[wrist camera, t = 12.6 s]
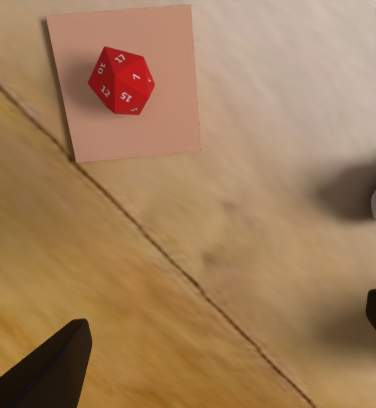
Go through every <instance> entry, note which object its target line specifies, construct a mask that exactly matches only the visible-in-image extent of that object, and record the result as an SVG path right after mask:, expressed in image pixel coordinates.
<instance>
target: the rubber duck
mask: <svg viewBox="0 0 376 408" xmlns="http://www.w3.org/2000/svg"><path fill="white" fill-rule="evenodd" d="M371 209H372V213H373V217H374V219H375V221H376V190H375V191H374V193H373V195H372V197H371Z"/></svg>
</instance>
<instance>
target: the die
mask: <svg viewBox="0 0 376 408" xmlns="http://www.w3.org/2000/svg"><path fill="white" fill-rule="evenodd" d="M88 85H89V86H90V87H91V89H92V90H93V91H94V92H95V94H96V95H97V96H98V97H99V99H100V100H101V101H102V102H103V104H104V105H105V106H106V107H107V108H108V109H109V110H111V111H112V112H113V113H114V114H126V115H140V113H141V112H142V110H143V108H144V106H145V104H146V103H147V101H148V99H149V97H150V95H151V93H152V91H153V89H154V86H155V83H154V80H153V78H152V75H151V73H150V71H149V68H148V66H147V63H146V61H145V59H144V57H143V56H140V55H136V54H133V53H129V52H125V51H122V50H118V49H114V48H110V47H107V46H105V47H104V48H103V50H102V52H101V54H100V56H99V59H98V61H97V63H96V65H95V67H94V70H93V72H92V74H91V76H90V78H89V80H88Z"/></svg>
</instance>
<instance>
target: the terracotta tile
mask: <svg viewBox="0 0 376 408" xmlns="http://www.w3.org/2000/svg"><path fill="white" fill-rule="evenodd" d="M46 19H47V24H48V29H49V33H50V38H51V43H52V48H53V53H54V58H55V62H56V67H57V72H58V77H59V82H60V86H61V91H62V96H63V101H64V106H65V111H66V115H67V120H68V125H69V130H70V135H71V139H72V144H73V149H74V154H75V159H76V163H77V162H88V161H99V160H110V159H121V158H132V157H143V156H154V155H165V154H176V153H187V152H198V151H201V143H200V129H199V115H198V101H197V86H196V72H195V58H194V44H193V29H192V15H191V5H179V6H167V7H154V8H142V9H129V10H117V11H104V12H92V13H79V14H66V15H54V16H46ZM105 46H107V47H110V48H114V49H118V50H122V51H125V52H129V53H133V54H136V55H140V56H143V57H144V59H145V61H146V63H147V66H148V68H149V71H150V73H151V75H152V78H153V80H154V83H155V86H154V89H153V91H152V93H151V95H150V97H149V99H148V101H147V103H146V104H145V106H144V108H143V110H142V112H141V113H140V115H126V114H114V113H113V112H112V111H111V110H109V109H108V108H107V107H106V106H105V105H104V104H103V102H102V101H101V100H100V99H99V97H98V96H97V95H96V94H95V92H94V91H93V90H92V89H91V87H90V86H89V85H88V80H89V78H90V76H91V74H92V72H93V70H94V67H95V65H96V63H97V61H98V59H99V56H100V54H101V52H102V50H103V48H104V47H105Z"/></svg>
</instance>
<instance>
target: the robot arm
mask: <svg viewBox="0 0 376 408" xmlns="http://www.w3.org/2000/svg"><path fill="white" fill-rule="evenodd" d="M366 315H367V318H368V320H369V321H370V323H371V324H372V326H373V327H374V328H375V330H376V289H372V290H370V291H369V292H368V296H367V304H366ZM91 349H92V337H91V333H90V329H89V324H88V321H87V320H86V319H75V320H72V321H70V322H69V323H68V324H67V325H65V326H64V327H63V328H61V329H60V330H59V331H58V332H56V333H55V334H54V335H53V336H51V337H50V338H49V339H48V340H46V341H45V342H44V343H43V344H41V345H40V346H39V347H38V348H36V349H35V350H34V351H33V352H31V353H30V354H29V355H27V356H26V357H25V358H24V359H22V360H21V361H20V362H19V363H17V364H16V365H15V366H14V367H12V368H11V369H10V370H9V371H7V372H6V373H5V374H4V375H2V376H1V377H0V408H77V405H78V402H79V398H80V394H81V390H82V386H83V382H84V378H85V374H86V369H87V365H88V361H89V357H90V353H91Z"/></svg>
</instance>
